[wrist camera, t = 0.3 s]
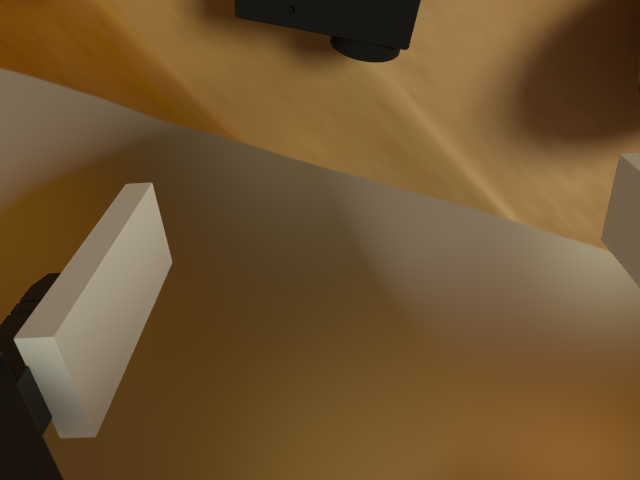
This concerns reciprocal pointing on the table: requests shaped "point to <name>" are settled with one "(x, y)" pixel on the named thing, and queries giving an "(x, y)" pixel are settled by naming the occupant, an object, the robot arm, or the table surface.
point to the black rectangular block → (343, 23)
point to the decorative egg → (639, 76)
